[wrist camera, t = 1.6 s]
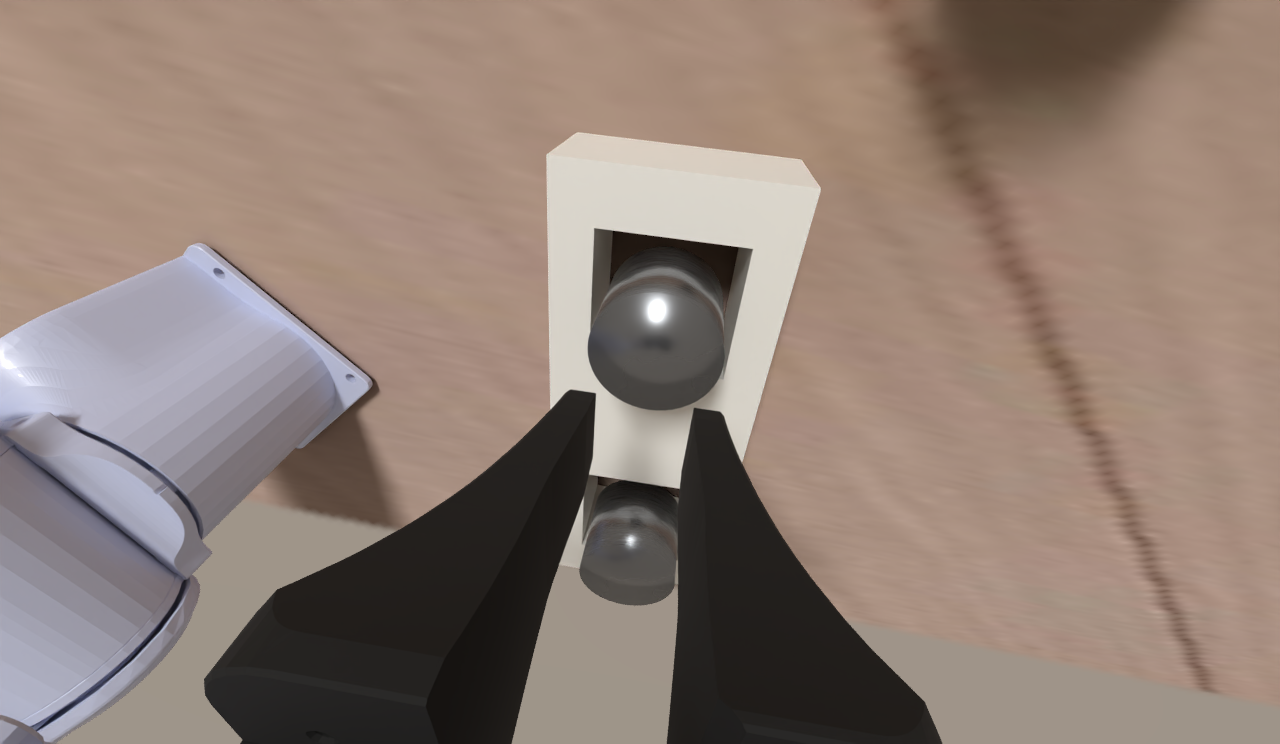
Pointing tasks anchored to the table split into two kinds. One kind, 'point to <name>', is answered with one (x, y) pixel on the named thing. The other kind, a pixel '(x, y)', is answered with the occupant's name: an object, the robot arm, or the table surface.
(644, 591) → the peg
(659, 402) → the peg
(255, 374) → the robot arm
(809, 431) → the table surface
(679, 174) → the band board
